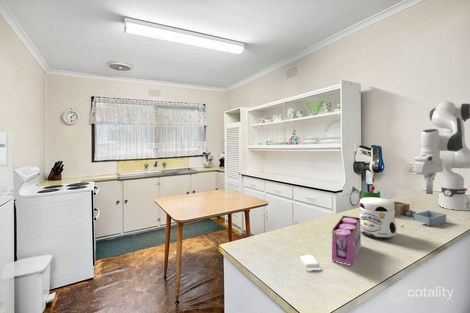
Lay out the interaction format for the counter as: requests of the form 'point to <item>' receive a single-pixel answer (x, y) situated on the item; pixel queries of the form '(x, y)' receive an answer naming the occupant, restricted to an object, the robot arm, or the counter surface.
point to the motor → (371, 193)
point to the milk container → (377, 217)
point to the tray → (433, 221)
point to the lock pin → (429, 184)
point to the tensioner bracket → (403, 210)
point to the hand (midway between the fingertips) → (429, 180)
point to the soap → (309, 261)
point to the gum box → (346, 239)
